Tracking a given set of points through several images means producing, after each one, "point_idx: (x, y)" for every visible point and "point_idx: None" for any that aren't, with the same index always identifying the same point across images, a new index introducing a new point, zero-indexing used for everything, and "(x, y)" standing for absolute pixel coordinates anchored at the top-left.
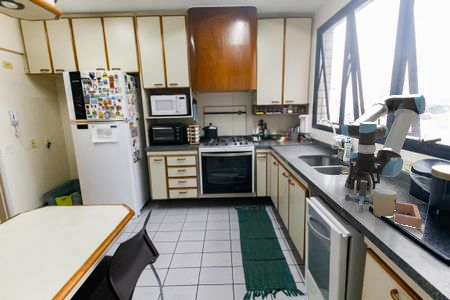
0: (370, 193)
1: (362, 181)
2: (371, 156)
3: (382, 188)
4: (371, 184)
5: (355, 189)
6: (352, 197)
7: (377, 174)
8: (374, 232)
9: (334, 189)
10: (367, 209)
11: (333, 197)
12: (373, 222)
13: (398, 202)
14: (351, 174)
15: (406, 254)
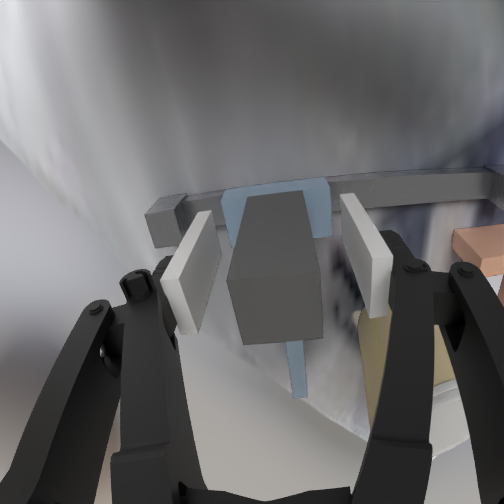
0: (347, 252)
1: (264, 328)
2: None
3: (440, 409)
4: (372, 314)
5: (213, 277)
6: (202, 206)
7: (476, 422)
8: (353, 429)
9: (42, 85)
10: (327, 303)
11: (102, 238)
12: (354, 392)
13: (497, 264)
14: (111, 406)
15: None
